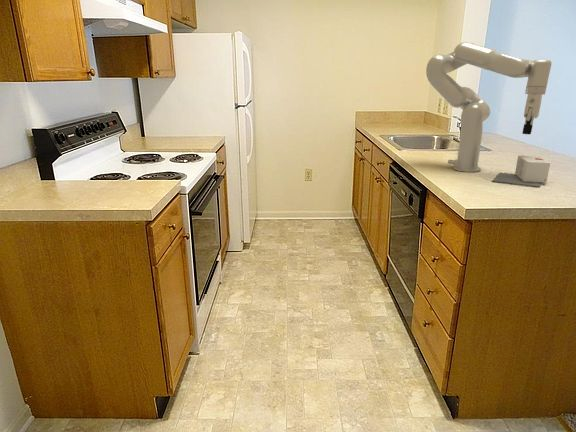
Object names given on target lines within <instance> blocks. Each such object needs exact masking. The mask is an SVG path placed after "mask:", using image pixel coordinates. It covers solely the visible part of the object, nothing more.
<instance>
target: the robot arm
mask: <svg viewBox="0 0 576 432" xmlns="http://www.w3.org/2000/svg"><path fill="white" fill-rule="evenodd" d="M465 65H469V66H473V67H477V68H480V69H482V70H485V71H490V72H493V73H497V74H500V75H503V76H506V77H509V78H512V79H513V78H515V79H517V78H518V79H519V78H520V79H523V78H527V81H526V87H525V91H524V94H525V95H526V102H525V105H524V112H523V117H524V118H525V121H524V124H523V127H522V128H523V129H522V132H521V133H522V134H523V135H531V134H532V131H533V123H534V119H537V118H538V117H539V115H540V109H541V104H542V98H543V95H546V91H547V86H548V82H549V77H550V73H551V69H552V68H551V67H552V61H551V60H549V59H535V60H529V59H523V58H517V57H513V56H510V55H506V54H502V53H501V52H498V51H497V50H495V49H493V48H490V47H486V46H482V45H478V44H475V43H473V42H467V41H464V42H459V43H458V44H457V45H456V46H455V47H454V50H453V51H452V52H450V53H448V54H436V55H434V56H432V57H431V58H430V59H429V60H428V62H427V65H426V68H425V70H426V71H425V74H426V75H425V76H426V78H427V81H428V82H429V84H430V85H431V86H432V88H433V89H435V90H436V91H437V93H439V94H440V96H441V97H442V98H443V99H444V100H445V101H446V102H447V103H448V104H449V105H450V106H451V107H452V108H456V109H458V108H459V109H461V110H462V112H461V115H460V133H459V142H458V150H457V157H456V158H457V159H455V160H454V159H448V160H447V164H449V165H453V166H452V169H453V170H455V171H459V172H465V173H477V172H480V171H481V169H482V168H481V167H480V166H479V158H480V157H479V156H480V151H481V145H482V137H483V125H484V124H483V122H485V121H486V120H487V119H488V118H489V116H490V114H491V109H490V106H489V105H488V103H486V101H485V100H484V99H483V98H481V97H480V96H479V95H478V94H477V93H476V92H475V91H474V90H473V89H472V88H470V87H469V86H468V87H467V86H461V85H460V84H459V83H457V81H456V80H455V79H453V78H452V77H451V76H450V75H449V73H451V72H453V71H455V70H457V69H459V68H461V67H464V66H465Z"/></svg>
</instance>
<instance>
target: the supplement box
mask: <svg viewBox="0 0 576 432" xmlns="http://www.w3.org/2000/svg"><path fill="white" fill-rule="evenodd" d="M550 167H551V162H549V161H548V160H546V159H545V158H542V156H539V155H538V156H537V155H517V159H516V166H515V172H514V174H516V175H517V176H518V177H519V178H520V179H521V180H523V181H524V182H538V183H541V184H547V182H548V177H549V171H550Z"/></svg>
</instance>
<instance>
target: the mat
mask: <svg viewBox="0 0 576 432" xmlns="http://www.w3.org/2000/svg"><path fill="white" fill-rule="evenodd" d="M491 182H492V183H497V184H505V185H514V186H522V187H523V186H524V187H532V188H541V185H542V183H538V182H524V181H523V180H521V179H520V178H519V177H518V176H517V175H516V174H515V173H507V172H499V173H497V175H496V176H495V177H494V178H493V179H492V180H491Z"/></svg>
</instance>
